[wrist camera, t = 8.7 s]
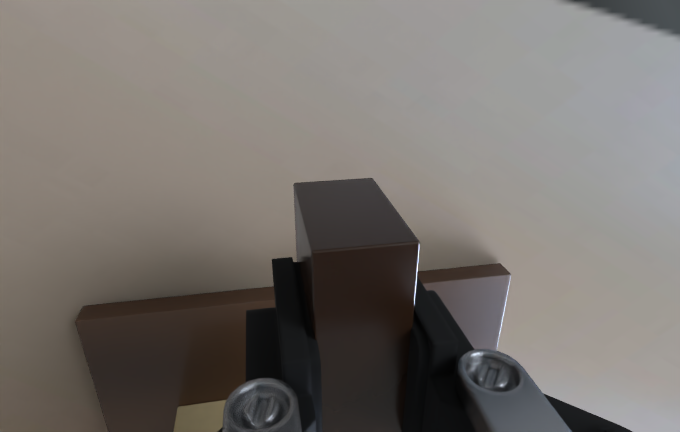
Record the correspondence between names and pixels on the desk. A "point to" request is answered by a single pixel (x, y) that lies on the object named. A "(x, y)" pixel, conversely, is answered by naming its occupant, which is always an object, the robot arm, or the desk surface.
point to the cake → (200, 417)
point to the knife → (357, 299)
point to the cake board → (228, 343)
